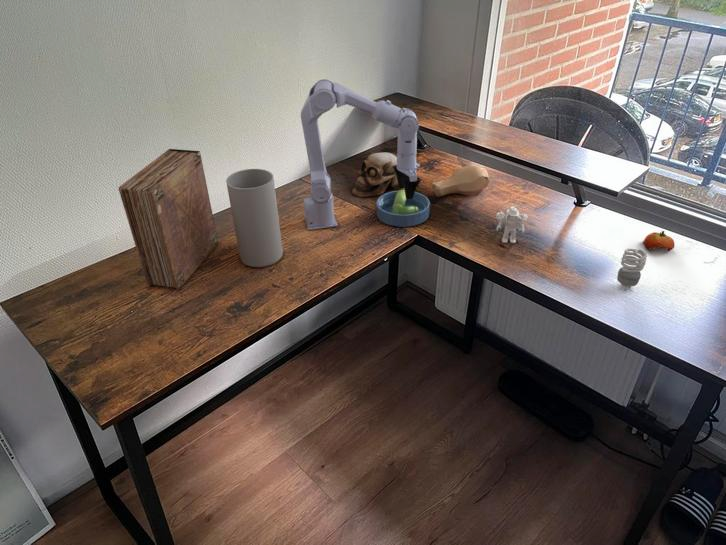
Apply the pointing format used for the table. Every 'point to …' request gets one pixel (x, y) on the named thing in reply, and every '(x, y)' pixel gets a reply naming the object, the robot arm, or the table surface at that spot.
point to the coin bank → (376, 175)
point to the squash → (463, 181)
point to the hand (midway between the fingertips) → (406, 192)
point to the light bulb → (631, 268)
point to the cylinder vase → (255, 216)
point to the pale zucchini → (399, 199)
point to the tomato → (658, 241)
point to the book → (170, 217)
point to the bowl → (386, 206)
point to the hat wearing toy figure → (511, 222)
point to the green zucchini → (405, 210)
